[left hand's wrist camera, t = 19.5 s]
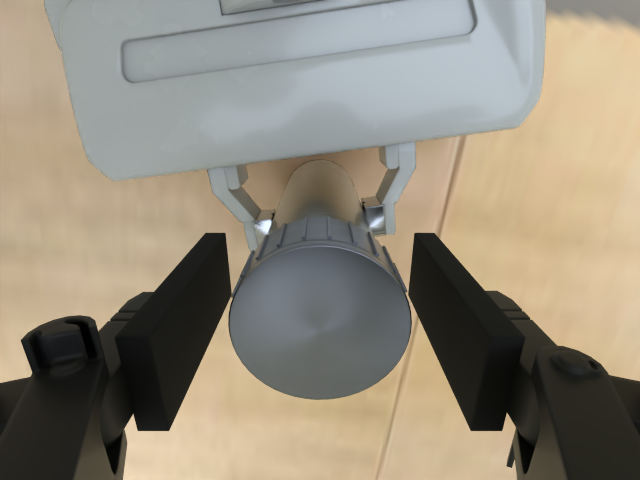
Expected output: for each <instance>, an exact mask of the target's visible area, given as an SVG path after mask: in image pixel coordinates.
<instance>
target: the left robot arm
mask: <svg viewBox="0 0 640 480" xmlns="http://www.w3.org/2000/svg"><path fill="white" fill-rule="evenodd" d="M231 295H232V293H231V283H230V274H229V264H228V254H227V244H226V234H225V233H205V234H204V236H203V237H202V238H201V239H200V240H199V241H198V242H197V244H196V245H195V246H194V247H193V248H192V249H191V250H190V252H189V253H188V254H187V255H186V256H185V257H184V258H183V260H182V261H181V262H180V263H179V264H178V265H177V266H176V268H175V269H174V270H173V271H172V272H171V273H170V274H169V276H168V277H167V278H166V279H165V280H164V281H163V282H162V284H161V285H160V286H159V287H158V288H157V289H156V290H155V292H142V293H141V294H139V295H137V296H136V297H134V298H132V299H130V300H129V301H127V303H126V304H125V305H124V306H123V307H122V308H121V309H120V310H119V312H118V313H116V314H115V315H114V316H113V317H112V318H111V319H110V321H108V322H107V323H106V324H105V325H104V326H103V327H102V328H101V329H100V330H99V331H98V330H97V326H96V322H95V320H94V319H92V318H91V317H88V316H81V315H79V316H68V317H63V318H59V319H56V320H52V321H50V322H47V323H45V324H42V325H40V326H38V327H37V328H35V329H33V330H32V331H30V332H28V333H27V334H26V335H25V336H24V337H23V339H22V340H21V342H22V345H23V348H24V351H25V353H26V356H27V359H28V362H29V364H30V367H31V370H32V372H33V373H32V375H31V377H28V378H23V379H18V380H13V381H8V382H4V383H0V480H123V473H124V465H125V457H126V449H127V439H126V434H125V430H124V428H125V426H126V425H127V423H128V421H129V420H130V418H131V416H132V415H133V413H134V417H135V421H136V425H137V429H138V431H169V430H170V428H171V426H172V423H173V421H174V419H175V417H176V415H177V412H178V410H179V408H180V406H181V404H182V402H183V399H184V397H185V395H186V393H187V391H188V389H189V386H190V384H191V382H192V380H193V378H194V375H195V373H196V371H197V369H198V367H199V365H200V362H201V360H202V358H203V356H204V354H205V352H206V349H207V347H208V345H209V343H210V341H211V339H212V336H213V334H214V332H215V330H216V328H217V325H218V323H219V321H220V319H221V317H222V315H223V312H224V310H225V308H226V306H227V304H228V302H229V299H230V297H231ZM408 295H409V297H410V299H411V302H412V304H413V306H414V308H415V310H416V312H417V315H418V317H419V319H420V321H421V323H422V325H423V328H424V330H425V332H426V334H427V336H428V339H429V341H430V343H431V345H432V347H433V349H434V352H435V354H436V356H437V358H438V360H439V362H440V365H441V367H442V369H443V371H444V373H445V375H446V378H447V380H448V382H449V384H450V386H451V389H452V391H453V393H454V395H455V397H456V399H457V402H458V404H459V406H460V408H461V410H462V412H463V415H464V417H465V419H466V421H467V423H468V426H469V428H470V430H471V431H502V429H503V425H504V421H505V417H506V413H508V415H509V416H510V418H511V419H512V421H513V423H514V424H515V426H516V430H515V434H514V438H513V441H512V445H511V449H510V452H509V456H508V461H507V467H511V468H512V466H513V462H514V460H515V464H516V472H517V480H640V381H635V380H630V379H625V378H620V377H615V376H611V375H609V374H608V372H607V371H606V370H605V369H604V368H603V366H602V365H601V364H600V363H598V362H597V361H596V360H594V359H593V358H592V357H590V356H588V355H586V354H584V353H582V352H580V351H578V350H574V349H571V348H567V347H564V346H557V345H556V344H555V343H554V342H553V341H552V340H551V339H550V338H549V337H548V336H547V335H546V334H545V333H544V332H543V331H542V330H541V329H540V328H539V327H538V326H537V325H536V324H535V323H534V322H533V320H530V317H529V316H528V315H527V314H526V313H525V312H524V311H522V309H521V308H520V307H519V306H518V305H517V304H516V303H515V302H514V301H513V300H512V299H510V298H509V297H507V296H505V295H503V294H502V293H500V292H498V291H485V290H484V289H483V288H482V287H481V286H480V285H479V284H478V282H477V281H476V280H475V279H474V278H473V277H472V276H471V274H470V273H469V272H468V271H467V270H466V269H465V268H464V266H463V265H462V264H461V263H460V262H459V261H458V260H457V258H456V257H455V256H454V255H453V254H452V253H451V252H450V250H449V249H448V248H447V247H446V246H445V245H444V244H443V242H442V241H441V240H440V239H439V238H438V237H437V236H436V234H435V233H415V234H414V244H413V254H412V264H411V274H410V283H409V293H408Z"/></svg>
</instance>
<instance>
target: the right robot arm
mask: <svg viewBox="0 0 640 480" xmlns="http://www.w3.org/2000/svg"><path fill="white" fill-rule="evenodd" d="M44 5H45V10H46V13H47V16H48V19H49V22H50V24H51V27H52V30H53V33H54V36H55V39H56V42H57V44H58V46H59V48H60V50H61V52H62V58H63V64H64V69H65V75H66V80H67V85H68V90H69V95H70V99H71V103H72V107H73V112H74V116H75V119H76V123H77V127H78V131H79V134H80V138H81V141H82V145H83V148H84V150H85V153H86V156H87V158H88V160H89V162H90V163H91V164H92V165H93V166H94V167H96V168H97V169H98V170H99V171H100V172H101V173H103V174H104V175H105V176H106V177H108V178H109V179H110V180H113V181H124V180H132V179H139V178H147V177H154V176H162V175H169V174H177V173H184V172H192V171H200V170H207V171H208V175H209V179H210V183H211V187H212V191H213V193H214V195H215V196H216V197H217V198H218V199H219V200H220V201H221V202H222V203H223V204H224V205H225V206H226V207H227V208H228V210H229V211H230V212H231V213H232V214H233V215H234V216H235V217H236V218H237V219H238V220H239V221H240V222H243V225H244V229H245V234H246V238H247V243H248V247H249V250H250V251H252V250H254V251H255V250H256V248H257V247H258V246H259V244H260V243H261V242H262V241H263V238H264V236H265V235H266V234H267V233H268V231H269V228H270V226H271V223H272V221H273V218H274V216H275V213H276V210H275V209H273V210H263V211H261V210H260V208H259V207H258V206H257V205H256V204H255V202H254V201H253V200H252V199H251V197H250V196H249V195H248V194H247V192H246V191H245V190H244V189H243V188H242V184H243V183H244V182H245V181H246V180H247V179H248V174H247V169H246V164H252V163H260V162H267V161H275V160H283V159H290V158H298V157H305V156H313V155H320V154H328V153H335V152H343V151H350V150H358V149H366V148H373V147H379V157H380V161H381V162H382V163H383V164H384V165H385V166H386V167H387V168H388V170H387V172H386V174H385V176H384V179H383V181H382V183H381V185H380V187H379V189H378V192H377V194H376V196H374V197H367V198H361V203H362V208H363V210H364V213H365V215H366V218H367V220H368V223H369V225H370V228H371V230H372V233H373V235H374V237H378V236H386V235H395V230H396V228H395V210H394V203H397V201H398V199H399V197H400V196H401V194H402V192H403V190H404V188H405V186H406V184H407V183H408V181H409V179H410V177H411V175H412V173H413V171H414V169H415V168H416V149H415V142H418V141H426V140H433V139H441V138H449V137H456V136H464V135H471V134H479V133H486V132H494V131H501V130H508V129H515V128H517V127H519V126H520V125H521V124H522V123H523V122H524V121H525V119H526V118H527V117H528V115H529V114H530V113H531V111H532V110H533V108H534V107H535V106H536V104H537V103H538V101H539V98H540V95H541V90H542V83H543V73H544V58H545V35H546V0H44Z"/></svg>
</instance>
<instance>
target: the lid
mask: <svg viewBox="0 0 640 480" xmlns="http://www.w3.org/2000/svg"><path fill="white" fill-rule="evenodd" d="M405 292H407V289H406V287H405V285H404V283H403V281H402V278H401V276H400V274H399V272H398V270H397V268H396V265H395V263H393V262H392V260H391V257H390V255H389V253H388V251H387V249H386V247H385V246H383V247H382V246H381V244H380V243H379V242H378V241H377V240H376V239H375V238H374V237H373V235H372V233H371V232H370V231H369V232H366V231H365V230H363V229H361V228H360V227H358V226H356V225H354V224H353V223H352V221H349V223H348V222H346V221H342V220H338V219H333V218H330V216H327V218H307V217H304V219H302V220H298V221H294V222H291V223H289V224H287V225H286V223H284V224H282V227H280V228H279V229H277V230H275V231H274V232H272V233H271V234H270V235H269V236H268V235H267V234H266V235H265V236H264V238H263V241H262V242H261V243H260V244H259V246H258V247H257V248H256V250H255V251H254V250H252V251H251V253H250V256H249V258H248V260H247V262H246V264H245V266H244V269H243V271H242V273H241V275H240V278H239V280H238V282H237V285H236V287H235V289H234V291H233V293H232V296H231V297H232V298H233V299H232V302H231V306H230V311H229V332H230V337H231V341H232V344H233V347H234V349H235V351H236V354H237V355H238V357H239V359H240V360H241V362H242V363H243V364H244V366H245V367H246V368H247V369H248V370H249V371H250V372H251V373H252V374H253V375H254V376H255V377H256V378H257V379H259V380H260V381H261V382H263V383H264V384H266V385H268V386H269V387H271V388H273V389H275V390H277V391H280V392H282V393H284V394H288V395H291V396H294V397H299V398H305V399H316V400H321V399H335V398H341V397H345V396H349V395H352V394H355V393H358V392H361V391H363V390H365V389H367V388H369V387H371V386H373V385H374V384H376V383H377V382H379V381H380V380H381V379H383V378H384V377H385V376H386V375H387V374H388V373H389V372H390V371H391V370H392V369H393V368H394V367H395V366H396V365H397V363H398V362H399V361H400V359H401V357H402V355H403V354H404V352H405V350H406V347H407V345H408V342H409V338H410V334H411V324H412V320H411V310H410V306H409V302H408V299H407V297H406V294H405Z"/></svg>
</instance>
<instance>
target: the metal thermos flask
mask: <svg viewBox="0 0 640 480" xmlns="http://www.w3.org/2000/svg"><path fill="white" fill-rule="evenodd" d="M327 216H330V218H333V219H338V220H342V221H346V222H348V223H349V221H352V223H353V224H354V225H356V226H358V227H360V228H361V229H363V230H365V231H366V232H369V231H370V232H371V233H372V230H371V228H370V225H369V223H368V220H367V218H366V215H365V213H364V210H363V208H362V205H361V203H360V200H359V198H358V195H357V193H356V190H355V188H354V185H353V183H352V180H351V178H350V176H349V175H348V173H347V172H346V171H345V170H344V169H343V168H342V167H341V166H339V165H338V164H336V163H334V162H331V161H328V160H313V161H309V162H306V163H304V164H303V165H301V166H300V167H298V168H297V169H296V170H295V171H294V172H293V174H292V175H291V177H290V179H289V181H288V183H287V186H286V188H285V191H284V193H283V196H282V198H281V201H280V203H279V206H278V208H277V211H276V213H275V216H274V218H273V221H272V223H271V226H270V228H269V231H268V233H267V235H268V236H269V235H270V234H271V233H272V232H274V231H275V230H277V229H279V228H280V227H282V224H284V223H286V225H287V224H289V223H291V222H294V221H298V220H302V219H304V217H307V218H327ZM372 235H373V233H372ZM373 237H374V235H373Z"/></svg>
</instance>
